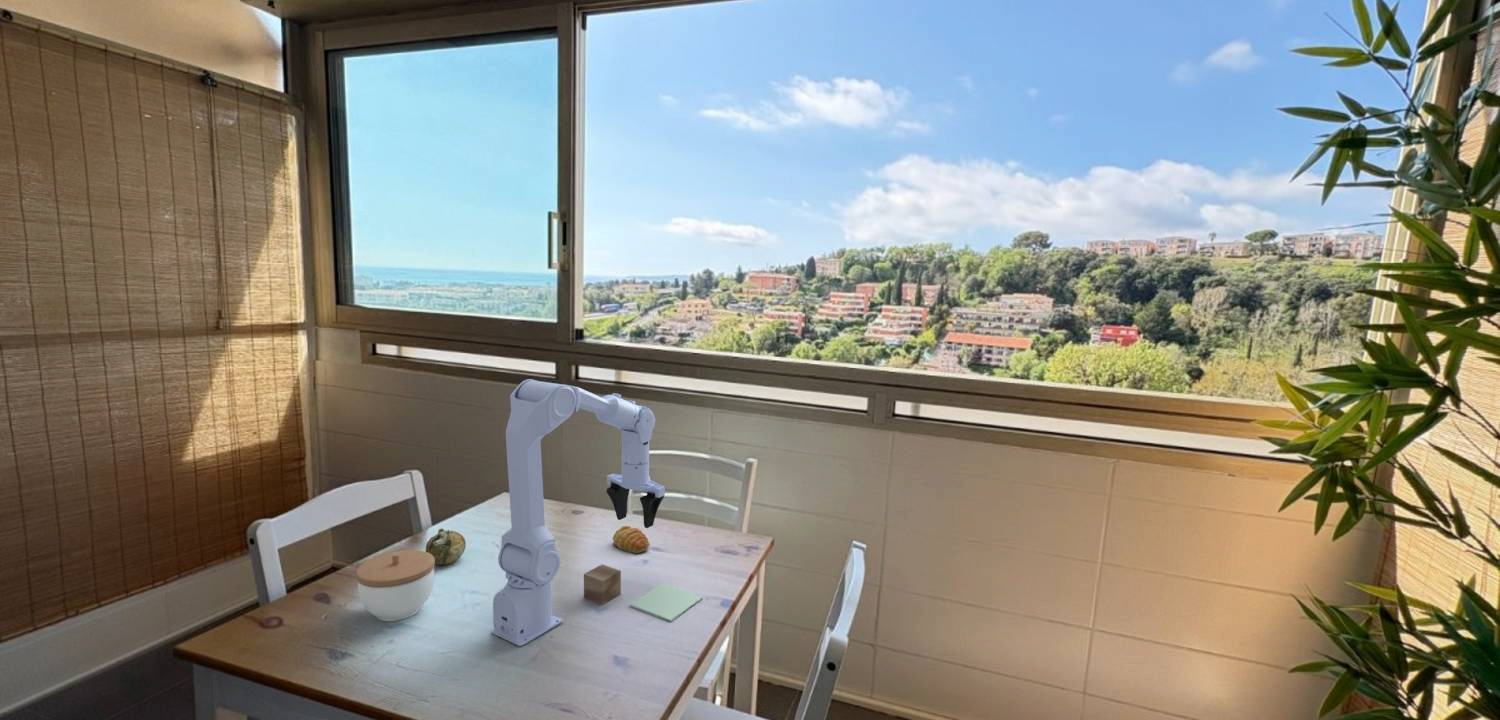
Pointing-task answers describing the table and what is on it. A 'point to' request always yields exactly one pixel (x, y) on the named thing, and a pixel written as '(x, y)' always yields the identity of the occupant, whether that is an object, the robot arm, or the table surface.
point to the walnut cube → (602, 584)
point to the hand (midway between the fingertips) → (635, 522)
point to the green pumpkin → (446, 546)
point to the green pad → (666, 602)
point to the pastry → (631, 539)
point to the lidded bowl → (396, 583)
